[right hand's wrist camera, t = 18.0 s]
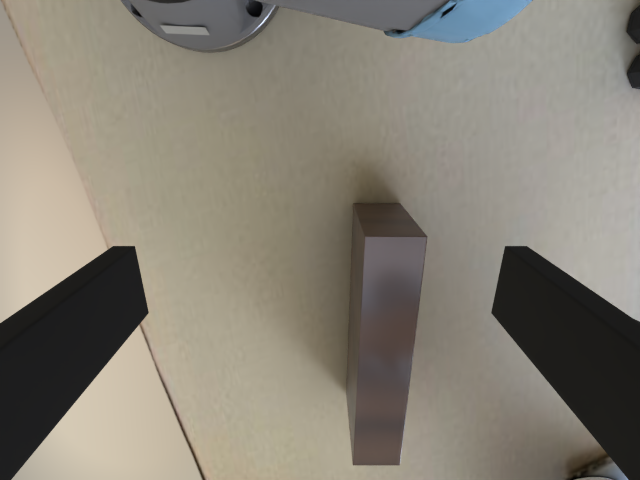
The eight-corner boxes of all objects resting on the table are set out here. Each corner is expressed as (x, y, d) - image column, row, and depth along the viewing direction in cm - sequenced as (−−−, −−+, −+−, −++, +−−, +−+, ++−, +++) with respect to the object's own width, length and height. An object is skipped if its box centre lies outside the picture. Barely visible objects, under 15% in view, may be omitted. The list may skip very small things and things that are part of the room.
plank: (353, 203, 37) (364, 236, 28) (400, 203, 37) (427, 236, 28) (346, 393, 46) (352, 465, 37) (383, 393, 46) (399, 465, 37)
